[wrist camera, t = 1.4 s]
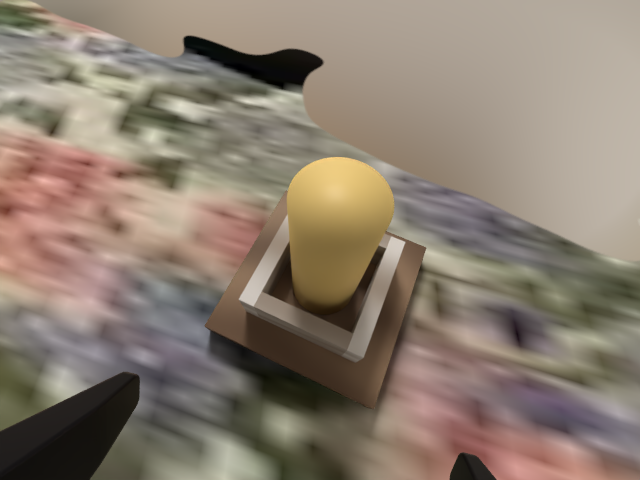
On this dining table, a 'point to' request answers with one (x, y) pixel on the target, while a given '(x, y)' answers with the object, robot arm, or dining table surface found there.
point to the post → (334, 229)
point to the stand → (314, 329)
